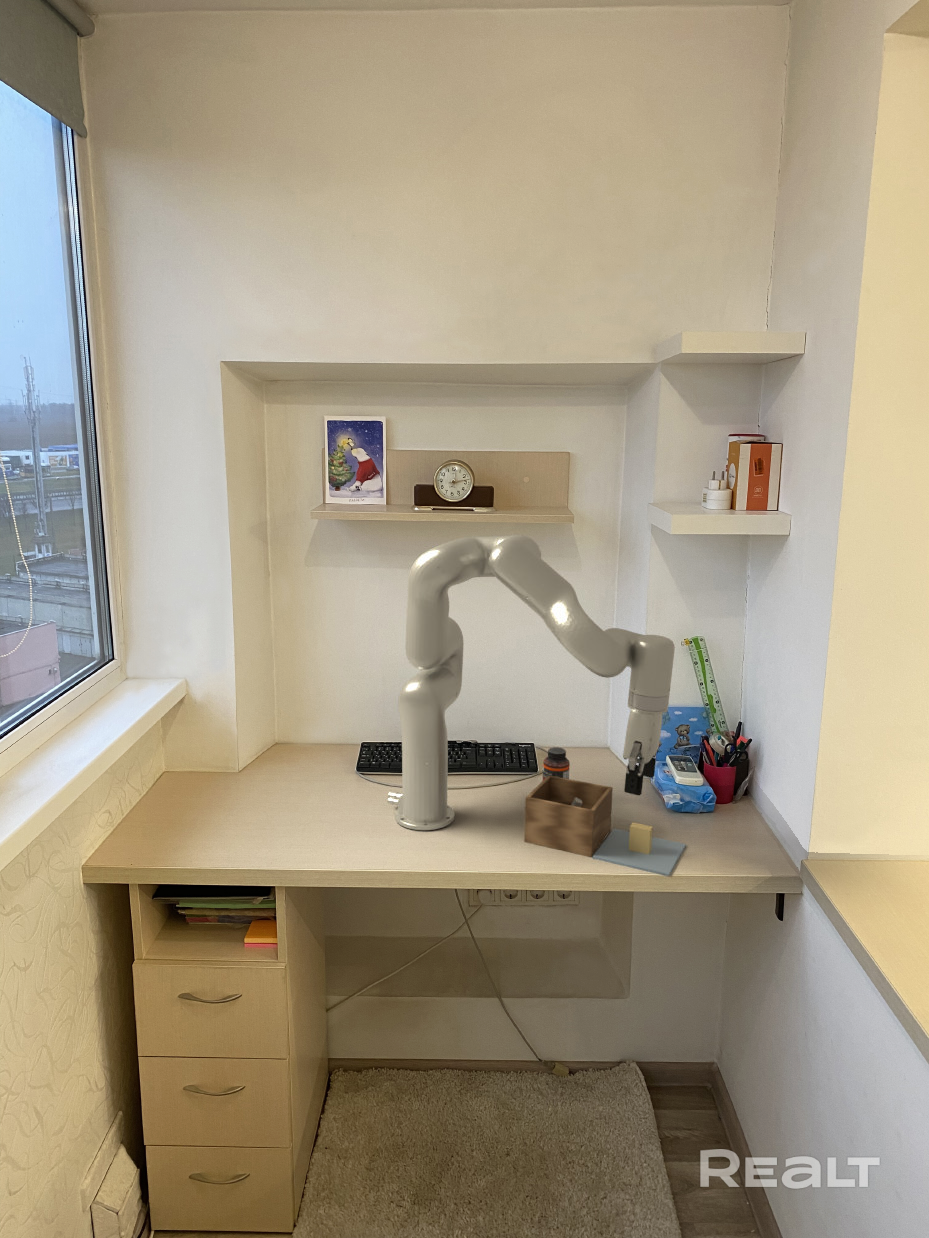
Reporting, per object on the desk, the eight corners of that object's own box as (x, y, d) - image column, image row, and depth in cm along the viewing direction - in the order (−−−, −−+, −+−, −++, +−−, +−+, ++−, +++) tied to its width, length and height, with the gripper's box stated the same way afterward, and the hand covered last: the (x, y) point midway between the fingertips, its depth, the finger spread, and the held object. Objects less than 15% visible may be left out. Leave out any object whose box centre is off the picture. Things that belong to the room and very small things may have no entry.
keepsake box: (524, 841, 173) (525, 797, 171) (547, 816, 185) (548, 775, 183) (591, 857, 167) (593, 811, 165) (610, 830, 179) (612, 787, 177)
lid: (592, 861, 167) (593, 832, 166) (614, 832, 179) (615, 805, 178) (668, 879, 160) (670, 849, 159) (685, 848, 172) (687, 820, 171)
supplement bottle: (537, 799, 194) (539, 751, 191) (547, 789, 199) (549, 743, 196) (562, 804, 191) (564, 756, 188) (572, 795, 196) (574, 748, 194)
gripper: (640, 685, 172) (632, 765, 176) (616, 709, 157) (607, 796, 161) (678, 692, 169) (668, 773, 173) (657, 717, 154) (647, 805, 158)
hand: (639, 784), depth 167 cm, fingers open, 9 cm apart
